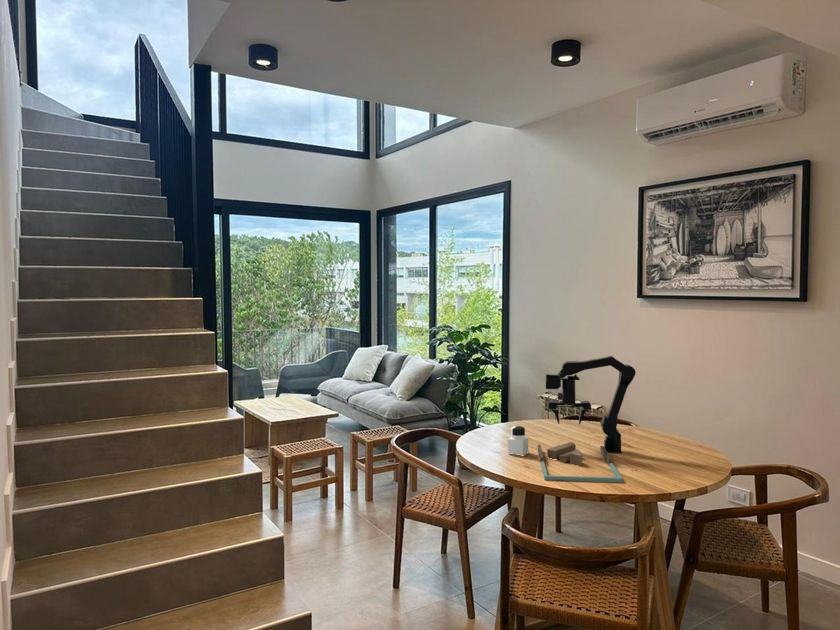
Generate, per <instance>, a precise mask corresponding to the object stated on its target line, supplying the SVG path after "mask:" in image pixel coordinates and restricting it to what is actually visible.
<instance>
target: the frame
mask: <svg viewBox="0 0 840 630" xmlns="http://www.w3.org/2000/svg"><path fill="white" fill-rule="evenodd" d="M540 466H542V467H541V471H542V474H543V475H544V476H543V479H544V481H556V480H564V482H591V483H592V482H594V483H596V482H597V483H598V482H599V483H622V484H623V477H622V475H621V474H620V473H619V471H618V469H617V468H616V467H615V465H614V464H613V462H612V463H609V465H608V467H609V468H610V470H611V472H612V473H613V475H614V477H612V476H580V475H579V476H578V475H551V474H550V475H548V472H547V468H546V464H545V461H544V462H543V461H541V463H540Z"/></svg>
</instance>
